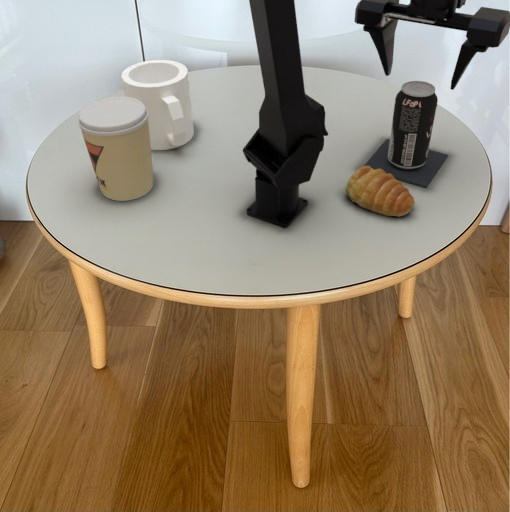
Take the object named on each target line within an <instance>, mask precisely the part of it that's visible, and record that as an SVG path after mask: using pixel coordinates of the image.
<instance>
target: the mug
mask: <svg viewBox="0 0 510 512" xmlns="http://www.w3.org/2000/svg"><path fill="white" fill-rule="evenodd" d="M189 80H190V79H189V71H188V68H187V67H186V65H185V64H183V63H180V62H179V61H176V60H171V59H170V60H169V59H152V60H151V59H150V60H145V61H140V62H137V63H134V64H132V65H129V66H128V67H126V68H125V69H124V71H122V73H121V82H122V87H123V93H124V97H131V98H135V99H137V100H139V101H141V102H142V103H143V104H144V105H145V107H146V108H147V110H148V113H149V118H148V123H149V133H150V145H151V151H167V150H168V151H169V150H171V149H172V150H173V149H176V148H180V147H182V146H184V145H186V144H187V143H189V142H190V141H192V138H193V137H194V135H195V129H194V128H195V127H194V119H193V108H192V98H191V90H190V81H189Z"/></svg>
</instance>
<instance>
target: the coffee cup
mask: <svg viewBox="0 0 510 512" xmlns="http://www.w3.org/2000/svg"><path fill="white" fill-rule="evenodd" d="M148 118H149V113H148V110H147V108H146V107H145V105H144V104H143V103H142V102H141V101H139V100H137V99H135V98H131V97H125V96H123V95H121V96H117V95H116V96H109V97H108V96H107V97H103V98H99V99H95V100H93V101H91V102H89V103H87V104H86V105H84V106H83V107H81V109H80V111H79V112H78V117H77V124H78V127H79V128H80V130H81V134H82V137H83V140H84V144H85V146H86V150H87V152H88V156H89V159H90V162H91V165H92V168H93V171H94V175H95V178H96V182H97V183H98V186H99V189H100V192H101V194H102V195H103V196H104V197H106V198H107V199H109V200H112V201H118V202H127V201H133V200H136V199H137V200H138V199H139V198H142V197H143V196H146V195H147V194H148V193H149V192H150V191H151V190H152V188H153V187H154V171H153V158H152V150H151V145H150V133H149V123H148Z"/></svg>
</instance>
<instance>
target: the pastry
mask: <svg viewBox="0 0 510 512" xmlns="http://www.w3.org/2000/svg"><path fill="white" fill-rule="evenodd" d="M348 179H349V180H348V181H347V184H346V186H345V188H344V189H345V190H344V191H345V193H346V194H347V196H348V197H349V199H350V200H351V202H352V203H356V204H357V205H358V206H359V207H361V208H363V209H366V210H369V211H372V212H373V213H378V214H379V215H383V216H388V217H392V216H393V217H403V216H405V215H407V214H408V213H410V212H411V211H412V208H413V207H414V205H415V202H416V201H415V198H414V197H413V195H412V194H411V192H410V189H409V188H407V187H405V186H404V185H403V183H402V182H403V181H400V180H397V179H396V178H394V176H393V175H392V174H386V172H385V171H384V170H382V169H376V170H374V169H372V168H371V167H370V166H364V165H362V166H361V167H359V168H356V170H355V172H354V173H353V174H352V175H351V176H350V178H348Z"/></svg>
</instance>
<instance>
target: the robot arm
mask: <svg viewBox="0 0 510 512" xmlns="http://www.w3.org/2000/svg"><path fill="white" fill-rule="evenodd" d="M248 2H249V8H250V13H251V20H252V25H253V31H254V36H255V43H256V48H257V55H258V61H259V66H260V73H261V78H262V83H263V89H264V98H263V100H262V103H261V106H260V108H259V110H258V129H256V131H255V132H254V134H252V136H251V137H250V139H249V140H248V141H247V143H246V144H245V145H244V147H243V148H242V154H243V155H244V158H245V161H247V162H248V163H249V164H251V165H252V166H253V167H254V168H255V178H254V190H255V191H254V194H255V197H254V198H255V200H254V201H253V202H252V203H251V204H250V205H249V206H248V207H247V208H246V209H245V210H246V211H245V212H246V215H249V216H252V217H255V218H257V219H260V220H262V221H266V222H268V223H271V224H274V225H277V226H280V227H283V228H287V227H289V226H290V225H291V224H292V223H293V222H294V221H295V219H297V217H298V216H299V215H300V214H301V213H302V212H303V211H304V209H306V208H307V206H308V205H309V200H308V199H306V198H303V197H300V185H302V184H304V183H307V182H308V183H309V182H310V181H311V179H312V176H313V173H314V171H315V167H316V166H317V165H316V164H317V162H318V160H319V157H320V154H321V152H323V151H324V146H325V137H328V136H329V132H328V130H327V128H326V109H325V106H324V105H323V104H321V103H320V102H319V101H317V100H316V99H315V98H312V97H311V96H309V95H308V94H307V93H306V90H305V80H304V79H305V78H304V71H303V64H302V54H301V45H300V37H299V29H298V19H297V12H296V4H295V3H296V2H295V0H248ZM466 2H467V0H410V1H409V4H405V3H400V0H359V2H357V4H356V7H355V11H354V21H353V22H354V23H355V24H357V25H362V30H363V32H366V33H368V34H369V36H370V38H371V40H372V42H373V44H374V46H375V49H376V51H377V55H378V57H379V60H380V63H381V66H382V69H383V73H384V76H386V77H389V76H390V75H391V74H392V68H393V64H394V50H395V37H396V36H395V35H396V31H397V26H398V23H399V21H404V22H409V23H414V24H415V23H416V24H420V25H421V24H422V25H426V26H427V25H428V26H433V27H439V28H446V29H451V30H458V31H463V32H466V34H465V37H466V39H465V41H464V42H463V43H462V44H461V46H460V48H459V53H458V56H457V60H456V63H455V67H454V70H453V72H452V73H453V74H452V77H451V82H450V90H451V91H453V90H455V89H456V87H457V85H458V84H459V82H460V80H461V78H462V77H463V75H464V74H465V72H466V70H467V68H468V67H469V65H470V63H471V62H472V61H473V58H474V57H475V55H476V54H477V53H481V54H483V53H486V52H487V51H488V50H489V48H493V49H494V48H499V46H500V45H501V44H502V43H503V42H504V40H505V39H506V38H507V36H508V35H509V33H510V10H506V9H498V8H492V7H486V6H481V7H479V8H478V9H477V11H476V12H475V13H474V14H469V13H462V12H457V9H458V10H459V9H461V8H462V7H463V6H465V5H466Z"/></svg>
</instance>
